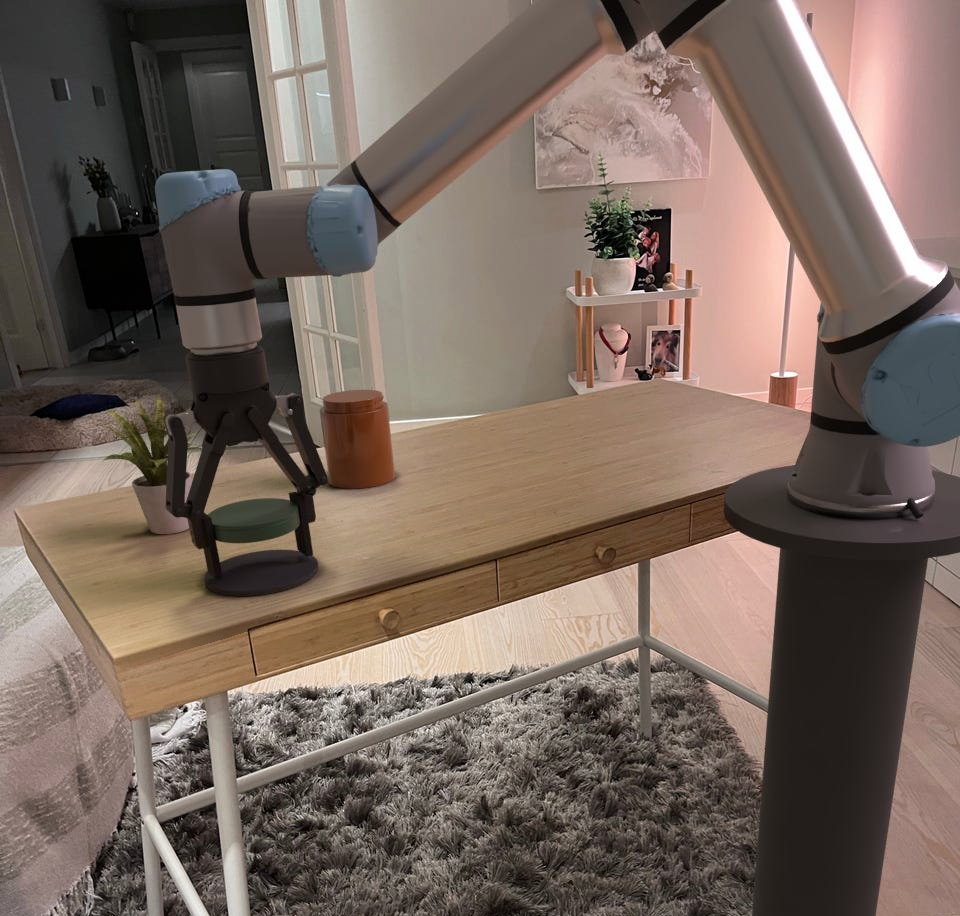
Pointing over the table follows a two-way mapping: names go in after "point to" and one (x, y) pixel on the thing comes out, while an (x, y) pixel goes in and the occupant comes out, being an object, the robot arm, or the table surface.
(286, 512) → the jar lid
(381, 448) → the jar
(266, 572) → the coaster
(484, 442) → the table surface
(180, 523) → the house plant
